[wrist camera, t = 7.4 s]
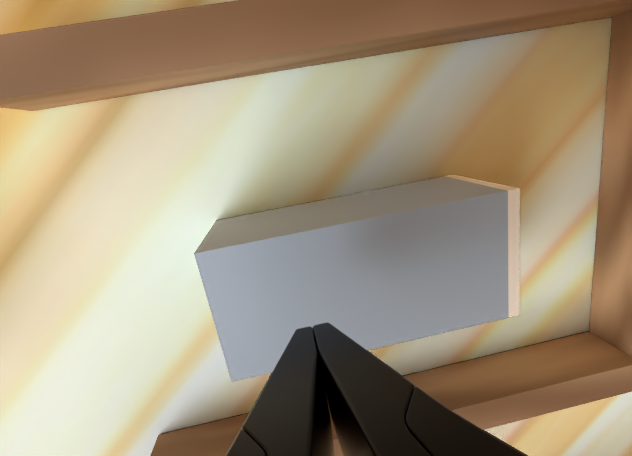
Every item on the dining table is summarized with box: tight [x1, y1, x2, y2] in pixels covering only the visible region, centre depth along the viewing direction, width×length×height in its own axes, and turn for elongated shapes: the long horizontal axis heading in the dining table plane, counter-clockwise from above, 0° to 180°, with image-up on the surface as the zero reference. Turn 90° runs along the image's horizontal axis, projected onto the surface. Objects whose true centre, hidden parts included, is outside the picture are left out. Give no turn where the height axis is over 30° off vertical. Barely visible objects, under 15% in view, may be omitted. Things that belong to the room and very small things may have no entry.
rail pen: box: [0, 0, 632, 456], centre depth 13 cm, size 18×24×2 cm
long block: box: [194, 174, 520, 382], centre depth 12 cm, size 4×4×10 cm
